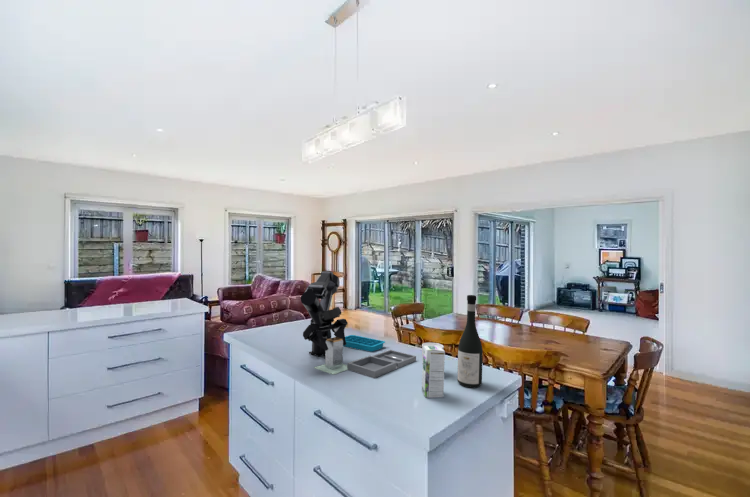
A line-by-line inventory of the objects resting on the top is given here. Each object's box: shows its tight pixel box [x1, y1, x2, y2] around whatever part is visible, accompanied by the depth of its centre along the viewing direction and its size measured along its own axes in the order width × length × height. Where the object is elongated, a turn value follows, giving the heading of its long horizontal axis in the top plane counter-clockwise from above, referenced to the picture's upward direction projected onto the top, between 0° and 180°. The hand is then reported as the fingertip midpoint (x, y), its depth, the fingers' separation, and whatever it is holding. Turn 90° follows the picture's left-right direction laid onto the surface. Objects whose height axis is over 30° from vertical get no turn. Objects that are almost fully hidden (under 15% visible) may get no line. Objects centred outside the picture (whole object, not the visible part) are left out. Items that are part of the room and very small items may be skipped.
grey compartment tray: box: [346, 349, 417, 379], centre depth 135 cm, size 13×27×2 cm, turn 141°
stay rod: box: [384, 355, 403, 361], centre depth 140 cm, size 10×1×1 cm, turn 51°
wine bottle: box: [457, 294, 484, 389], centre depth 118 cm, size 8×8×30 cm
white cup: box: [421, 342, 445, 365], centre depth 128 cm, size 8×8×10 cm
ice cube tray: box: [343, 334, 386, 352], centre depth 161 cm, size 12×20×3 cm, turn 56°
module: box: [324, 336, 344, 370], centre depth 130 cm, size 4×5×10 cm
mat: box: [313, 363, 349, 375], centre depth 130 cm, size 10×10×1 cm
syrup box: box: [421, 345, 446, 399], centre depth 109 cm, size 6×6×14 cm
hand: (336, 347), depth 129 cm, fingers open, 9 cm apart
